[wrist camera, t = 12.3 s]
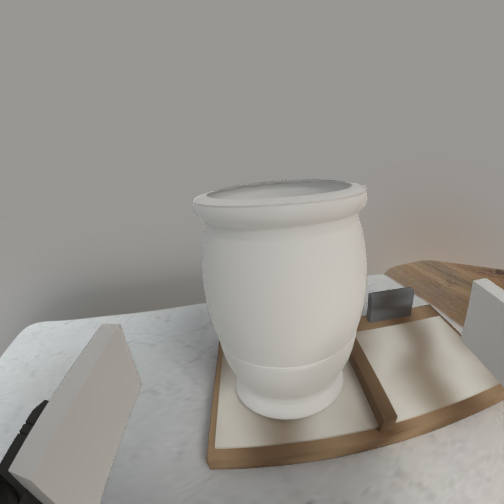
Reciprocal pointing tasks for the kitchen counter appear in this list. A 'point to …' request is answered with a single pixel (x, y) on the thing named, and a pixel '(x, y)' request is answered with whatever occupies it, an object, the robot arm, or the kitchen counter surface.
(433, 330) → the tag board
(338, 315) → the jar
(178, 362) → the kitchen counter surface
